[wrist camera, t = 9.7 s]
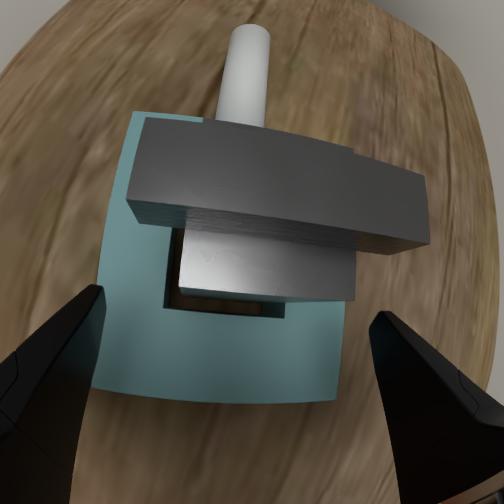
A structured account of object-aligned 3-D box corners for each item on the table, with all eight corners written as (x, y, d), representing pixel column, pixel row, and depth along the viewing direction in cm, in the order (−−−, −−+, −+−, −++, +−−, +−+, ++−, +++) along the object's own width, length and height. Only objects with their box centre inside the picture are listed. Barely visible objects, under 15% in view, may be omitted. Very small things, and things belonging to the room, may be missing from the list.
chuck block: (304, 381, 18) (336, 399, 14) (112, 368, 16) (91, 387, 12) (312, 74, 23) (333, 40, 18) (172, 49, 20) (174, 9, 16)
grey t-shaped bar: (265, 304, 19) (430, 300, 6) (166, 294, 17) (113, 272, 4) (270, 240, 19) (417, 132, 6) (174, 228, 18) (160, 70, 5)
